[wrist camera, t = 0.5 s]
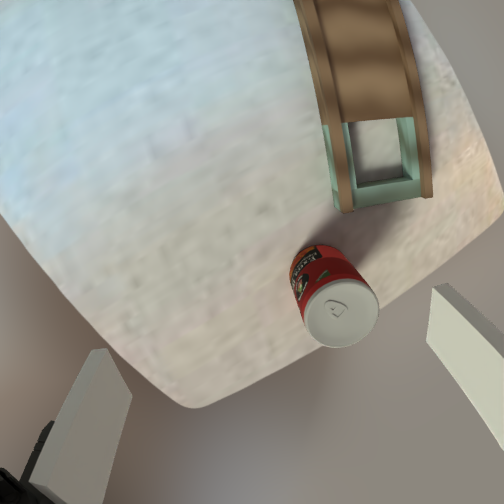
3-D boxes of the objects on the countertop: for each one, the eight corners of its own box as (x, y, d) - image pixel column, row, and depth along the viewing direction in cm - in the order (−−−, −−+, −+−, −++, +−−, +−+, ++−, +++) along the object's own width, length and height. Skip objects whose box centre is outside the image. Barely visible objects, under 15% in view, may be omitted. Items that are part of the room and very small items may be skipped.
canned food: (302, 234, 39) (325, 271, 28) (357, 254, 40) (393, 294, 30) (278, 288, 41) (291, 338, 31) (332, 305, 42) (358, 354, 32)
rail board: (293, -1, 28) (298, -12, 25) (383, 0, 28) (395, -9, 25) (334, 206, 38) (343, 213, 34) (419, 191, 37) (433, 197, 34)
